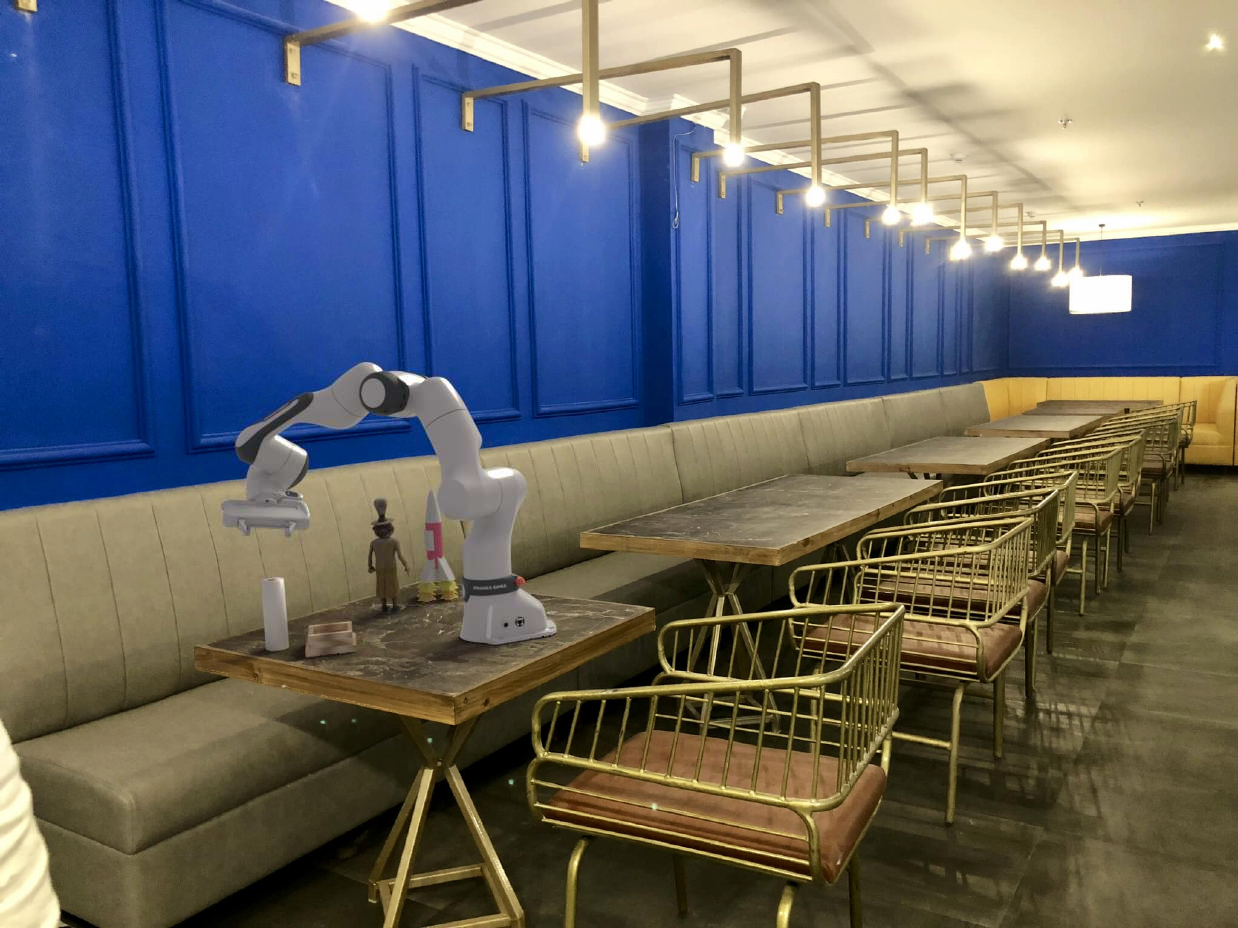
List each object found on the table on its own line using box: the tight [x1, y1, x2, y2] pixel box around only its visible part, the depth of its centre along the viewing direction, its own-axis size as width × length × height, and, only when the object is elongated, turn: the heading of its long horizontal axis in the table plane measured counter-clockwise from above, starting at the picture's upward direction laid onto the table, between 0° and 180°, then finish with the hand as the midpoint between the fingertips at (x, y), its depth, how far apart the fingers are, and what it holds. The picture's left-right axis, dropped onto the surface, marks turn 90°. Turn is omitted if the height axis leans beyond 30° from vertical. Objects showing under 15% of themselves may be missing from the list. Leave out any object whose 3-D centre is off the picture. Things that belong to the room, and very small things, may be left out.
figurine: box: [367, 497, 411, 614], centre depth 258 cm, size 11×9×30 cm
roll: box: [260, 576, 290, 652], centre depth 227 cm, size 5×5×16 cm
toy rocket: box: [416, 488, 459, 603], centre depth 271 cm, size 12×12×30 cm
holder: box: [304, 620, 358, 658], centre depth 226 cm, size 11×11×4 cm
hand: (267, 534), depth 237 cm, fingers open, 8 cm apart
